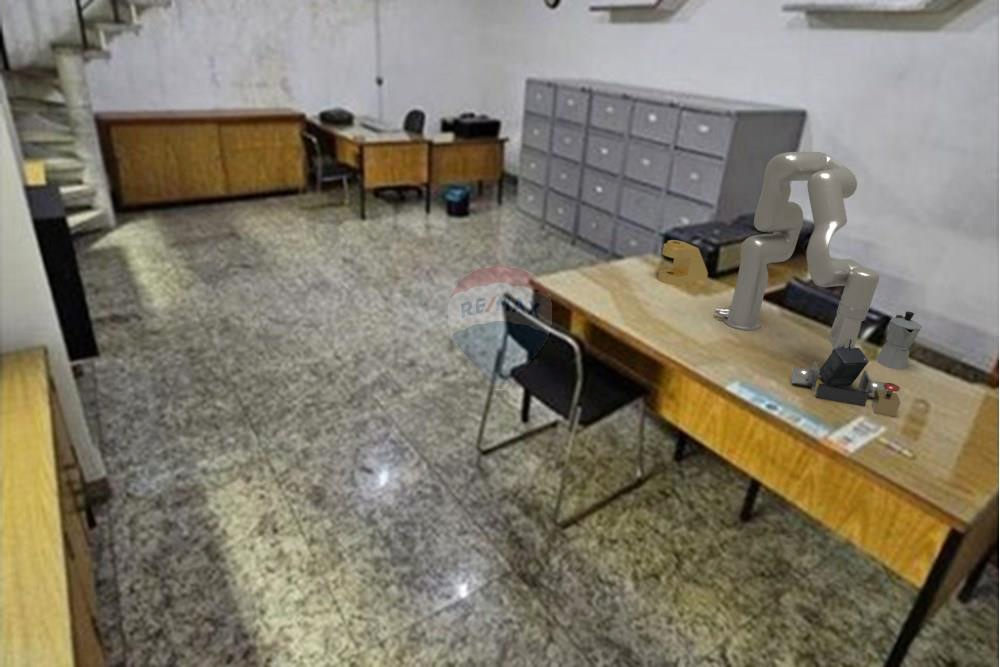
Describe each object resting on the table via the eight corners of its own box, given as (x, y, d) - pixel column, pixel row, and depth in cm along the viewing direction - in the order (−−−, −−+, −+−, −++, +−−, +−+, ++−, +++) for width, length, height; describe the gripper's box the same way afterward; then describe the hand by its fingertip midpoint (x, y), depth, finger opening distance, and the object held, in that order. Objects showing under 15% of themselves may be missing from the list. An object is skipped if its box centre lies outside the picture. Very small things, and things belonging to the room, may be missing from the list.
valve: (873, 413, 171) (883, 388, 167) (870, 404, 175) (880, 379, 172) (894, 418, 169) (904, 392, 166) (891, 409, 174) (900, 383, 170)
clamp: (667, 286, 251) (674, 247, 244) (652, 278, 258) (659, 240, 251) (706, 280, 259) (714, 243, 252) (690, 273, 266) (698, 236, 259)
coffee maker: (911, 377, 192) (932, 323, 184) (879, 371, 194) (899, 317, 186) (899, 356, 205) (918, 304, 197) (869, 351, 207) (887, 300, 199)
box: (841, 371, 188) (859, 347, 181) (850, 386, 184) (870, 362, 177) (817, 372, 187) (834, 347, 179) (826, 386, 183) (844, 362, 175)
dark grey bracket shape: (794, 393, 178) (800, 373, 175) (789, 377, 187) (795, 358, 184) (887, 411, 172) (894, 390, 170) (878, 393, 181) (885, 373, 178)
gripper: (833, 299, 187) (816, 354, 195) (843, 318, 174) (824, 376, 182) (860, 303, 186) (842, 358, 194) (873, 323, 173) (852, 381, 181)
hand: (833, 367), depth 188 cm, fingers closed
